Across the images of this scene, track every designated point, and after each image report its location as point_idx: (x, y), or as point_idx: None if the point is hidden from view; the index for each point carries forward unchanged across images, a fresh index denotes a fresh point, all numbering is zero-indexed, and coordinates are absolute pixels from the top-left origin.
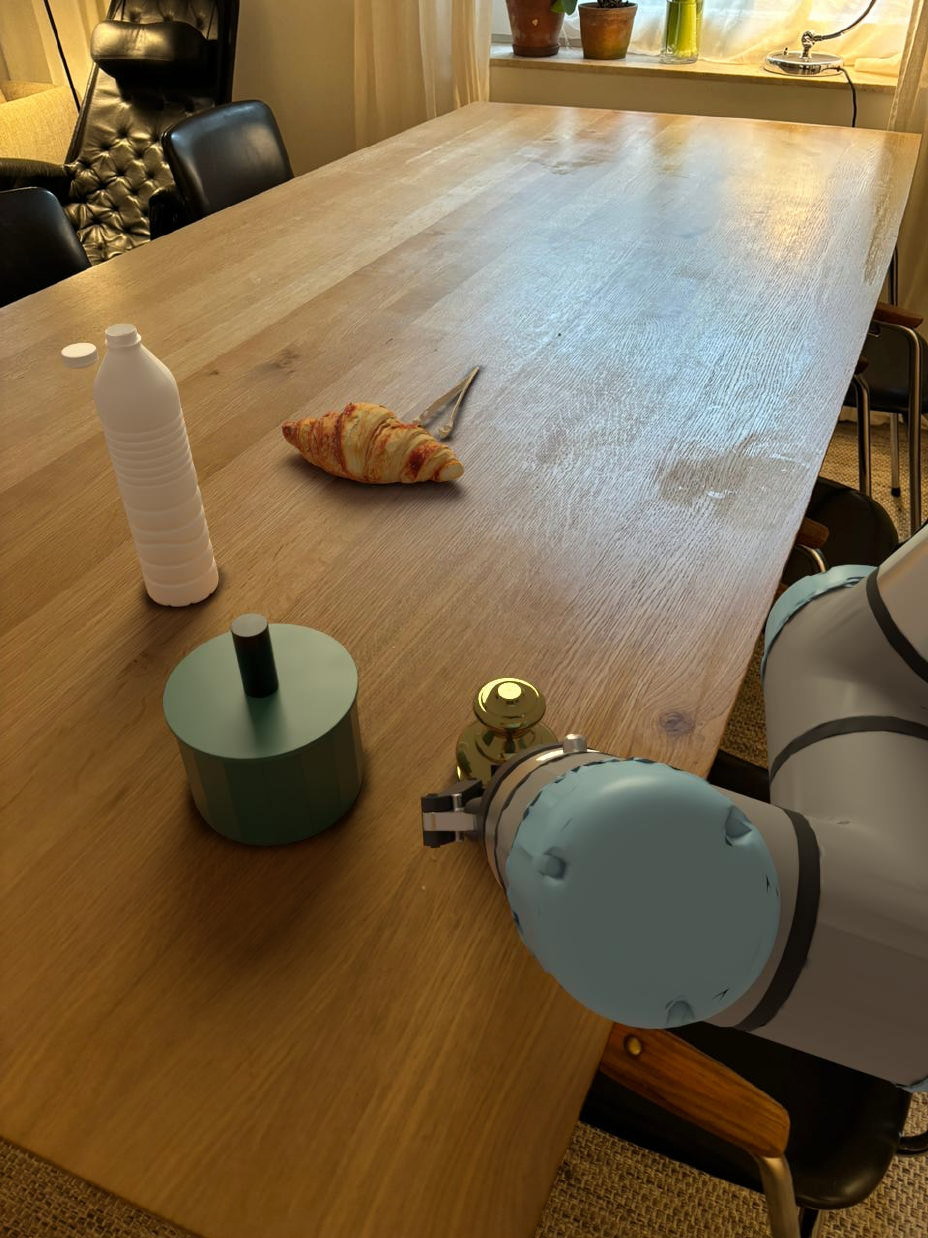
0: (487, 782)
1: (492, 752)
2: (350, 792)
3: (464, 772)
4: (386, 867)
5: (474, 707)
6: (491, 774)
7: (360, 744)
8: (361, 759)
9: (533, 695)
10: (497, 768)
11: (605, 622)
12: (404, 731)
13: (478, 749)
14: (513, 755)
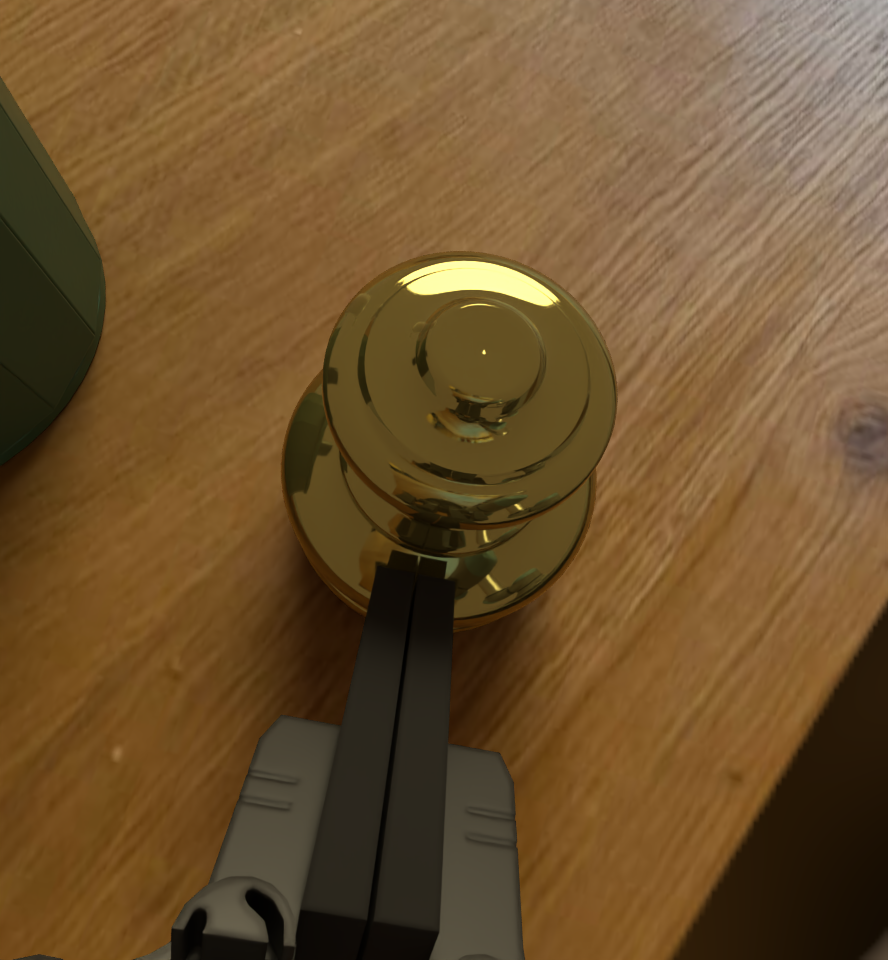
0: (255, 751)
1: (375, 501)
2: (5, 426)
3: (287, 509)
4: (45, 662)
5: (326, 365)
6: (175, 957)
7: (46, 302)
8: (65, 336)
9: (577, 388)
10: (212, 950)
11: (791, 118)
12: (239, 268)
13: (340, 466)
14: (438, 535)
